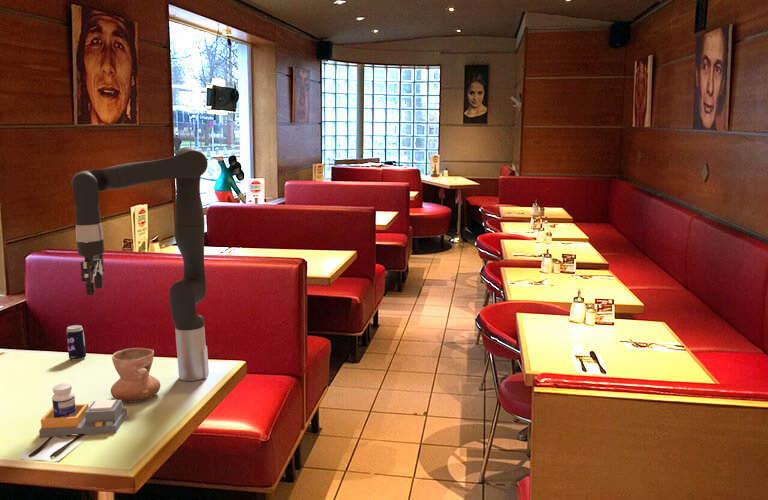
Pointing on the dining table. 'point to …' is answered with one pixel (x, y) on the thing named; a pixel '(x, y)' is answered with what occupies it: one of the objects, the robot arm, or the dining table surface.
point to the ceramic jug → (134, 375)
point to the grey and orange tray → (84, 421)
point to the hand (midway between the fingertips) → (95, 291)
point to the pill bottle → (63, 401)
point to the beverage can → (76, 342)
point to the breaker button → (103, 405)
